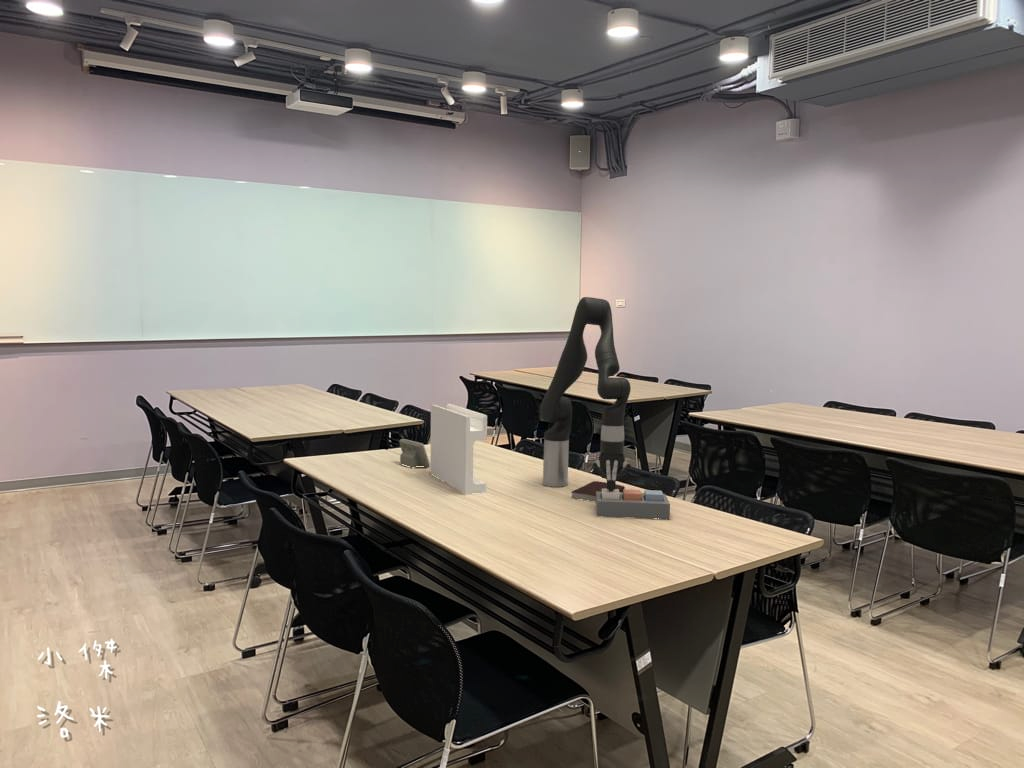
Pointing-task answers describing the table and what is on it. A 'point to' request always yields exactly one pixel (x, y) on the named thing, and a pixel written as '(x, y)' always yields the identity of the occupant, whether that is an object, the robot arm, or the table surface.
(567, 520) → the table surface
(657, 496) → the key blue
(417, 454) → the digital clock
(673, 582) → the table surface
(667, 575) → the table surface
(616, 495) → the key white
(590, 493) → the book
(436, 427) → the block
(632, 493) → the key terracotta
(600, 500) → the console
